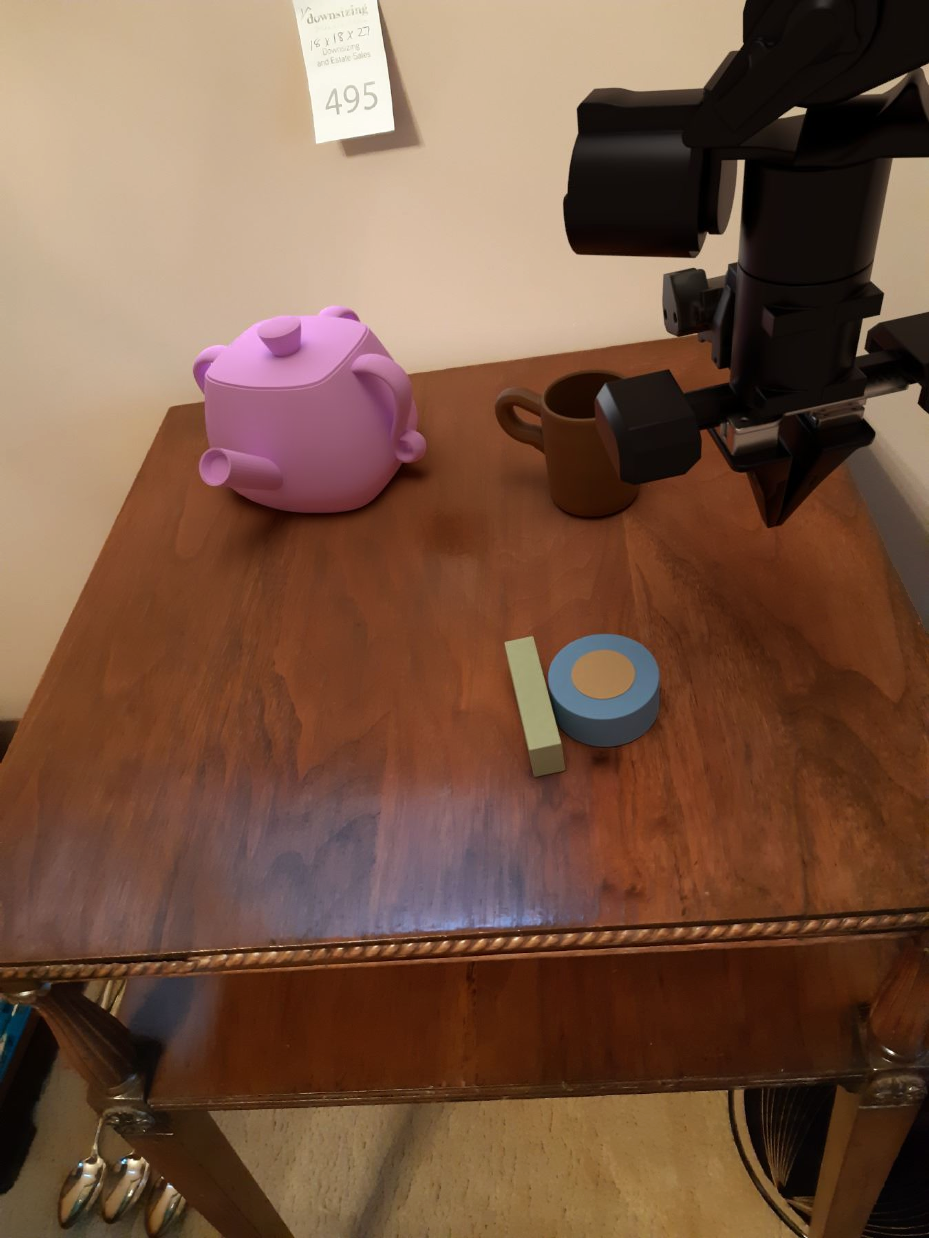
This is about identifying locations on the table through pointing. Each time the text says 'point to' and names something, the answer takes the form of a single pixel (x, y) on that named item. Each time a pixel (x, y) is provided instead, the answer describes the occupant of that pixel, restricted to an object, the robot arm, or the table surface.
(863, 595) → the table surface
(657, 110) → the robot arm
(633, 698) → the tape roll
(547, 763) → the stop block
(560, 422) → the mug
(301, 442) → the teapot
